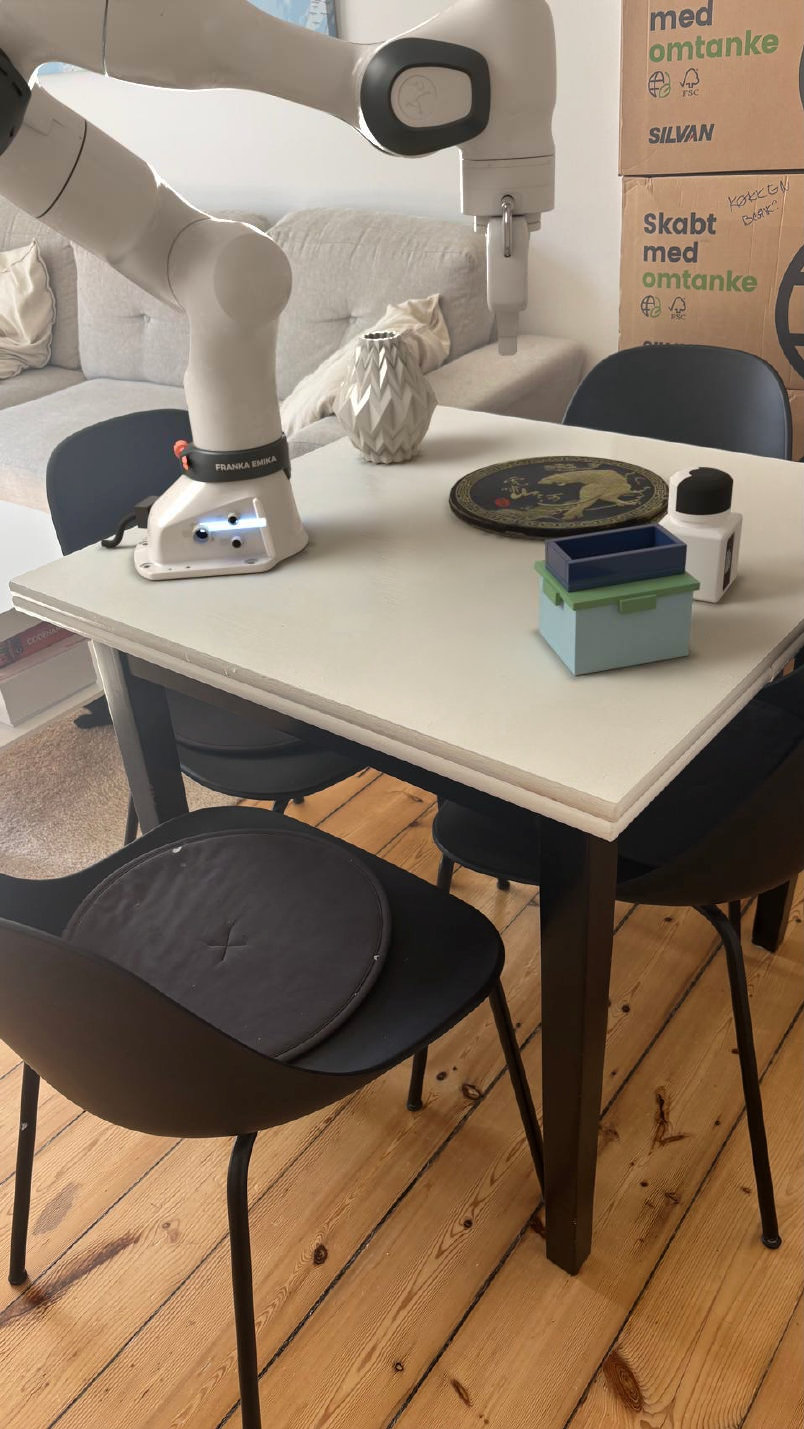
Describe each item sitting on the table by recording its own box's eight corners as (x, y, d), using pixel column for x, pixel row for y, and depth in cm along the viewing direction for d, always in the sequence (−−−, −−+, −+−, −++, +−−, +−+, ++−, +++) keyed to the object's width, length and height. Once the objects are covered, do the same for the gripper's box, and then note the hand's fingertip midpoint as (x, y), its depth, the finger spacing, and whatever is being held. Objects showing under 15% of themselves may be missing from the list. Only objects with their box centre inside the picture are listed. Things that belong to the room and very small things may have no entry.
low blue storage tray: (568, 592, 100) (568, 563, 98) (544, 568, 105) (545, 539, 104) (685, 573, 102) (687, 544, 100) (656, 550, 107) (658, 522, 106)
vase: (323, 453, 171) (311, 334, 162) (415, 435, 176) (408, 319, 167) (360, 480, 158) (349, 353, 149) (458, 460, 163) (453, 336, 154)
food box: (569, 681, 102) (570, 605, 97) (529, 631, 111) (529, 560, 107) (699, 658, 104) (706, 583, 100) (649, 610, 114) (653, 541, 110)
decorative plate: (450, 534, 132) (446, 459, 157) (451, 548, 133) (447, 472, 158) (693, 522, 130) (649, 449, 156) (691, 537, 131) (648, 462, 157)
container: (737, 577, 119) (748, 465, 113) (717, 604, 114) (728, 488, 107) (670, 567, 123) (677, 458, 116) (648, 593, 117) (654, 480, 111)
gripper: (544, 200, 90) (541, 366, 97) (538, 182, 108) (537, 324, 115) (470, 203, 91) (473, 368, 98) (476, 185, 108) (478, 326, 115)
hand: (507, 344), depth 106 cm, fingers open, 8 cm apart
